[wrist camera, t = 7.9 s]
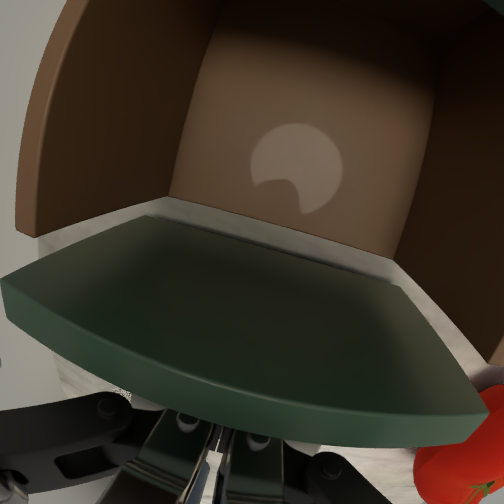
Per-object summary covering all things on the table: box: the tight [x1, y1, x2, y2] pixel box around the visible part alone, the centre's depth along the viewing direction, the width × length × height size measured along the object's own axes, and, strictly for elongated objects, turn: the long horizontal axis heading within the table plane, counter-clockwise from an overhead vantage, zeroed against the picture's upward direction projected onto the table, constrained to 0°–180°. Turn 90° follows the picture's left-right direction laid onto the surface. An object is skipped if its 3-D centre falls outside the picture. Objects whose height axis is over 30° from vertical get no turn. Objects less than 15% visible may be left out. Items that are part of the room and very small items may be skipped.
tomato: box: [413, 384, 504, 504], centre depth 11 cm, size 13×12×8 cm
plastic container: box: [186, 462, 210, 504], centre depth 16 cm, size 5×5×9 cm
